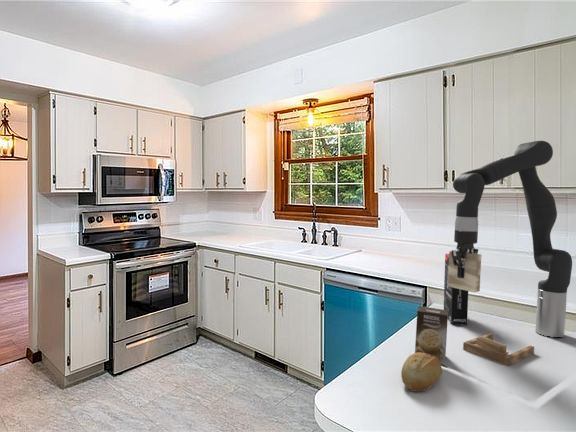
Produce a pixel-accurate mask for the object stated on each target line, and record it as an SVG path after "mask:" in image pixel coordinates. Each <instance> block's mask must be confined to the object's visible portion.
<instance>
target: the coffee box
mask: <svg viewBox="0 0 576 432" xmlns="http://www.w3.org/2000/svg"><path fill="white" fill-rule="evenodd" d="M416 312H417V313H416V326H415V328H416V329H415V347H414V353H417V352H421V353H427V354H430V355H431V356H433V355H434V356H435V357H437V358H438V360H439V361H440V363H441V367H445V364H446V354H447V352H446V351H447V340H448V339H447V337H448V336H447V335H448V321H449V320H448V310H444V309H442V308H434V307H430V306H429V307H428V306H424V305H423V306H422V305H418V307H417V311H416Z"/></svg>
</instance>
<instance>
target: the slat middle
mask: <svg viewBox="0 0 576 432" xmlns="http://www.w3.org/2000/svg"><path fill="white" fill-rule="evenodd" d="M474 345H477V346H479V347H482V346H480V345H478V344H474ZM482 348H485V347H482ZM485 349H487V348H485ZM488 350H489V349H488ZM491 351H492V350H491ZM500 354H503V355H506V356H507V355H509V351H507V350H506V352H504V353H500Z"/></svg>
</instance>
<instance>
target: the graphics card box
mask: <svg viewBox="0 0 576 432" xmlns="http://www.w3.org/2000/svg"><path fill="white" fill-rule="evenodd" d="M444 257H445V258H444V283H443V284H444V285H443V286H444V287H443V288H444V289H443V310H448V321H449V323H450V324H451V325H461V326H467V325H468V312H469V311H468V308H469V291H466V290H462V289H457V288H453V287H448V271H449V253H445V255H444Z"/></svg>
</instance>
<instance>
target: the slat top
mask: <svg viewBox="0 0 576 432" xmlns="http://www.w3.org/2000/svg"><path fill="white" fill-rule="evenodd" d="M479 337H480V336H479ZM476 338H477V337H476ZM477 344H478V345H480V346H482V347H485V348H487V349H489V350H492V351H494V352H497V353H504V352H506V351H507V350H508V349H507V347H508V346H507V344H504V343H501V342H499V341H496V340H494V339H493V340H491V339H488V338H486V337H480V338H477Z"/></svg>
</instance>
